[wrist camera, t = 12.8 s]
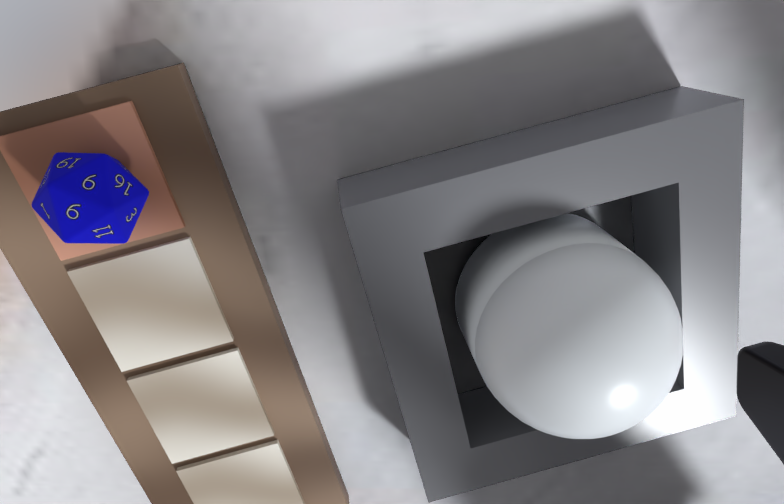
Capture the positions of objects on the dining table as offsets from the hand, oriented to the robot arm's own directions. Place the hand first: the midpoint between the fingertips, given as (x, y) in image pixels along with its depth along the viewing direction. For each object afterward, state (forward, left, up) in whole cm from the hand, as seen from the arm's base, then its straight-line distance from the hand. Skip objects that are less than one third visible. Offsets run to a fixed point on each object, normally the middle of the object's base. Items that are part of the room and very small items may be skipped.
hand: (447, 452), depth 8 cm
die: (+3, +8, -11) cm, 14 cm away
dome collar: (-5, -5, -12) cm, 14 cm away
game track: (-4, +8, -12) cm, 15 cm away
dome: (-5, -5, -11) cm, 13 cm away
